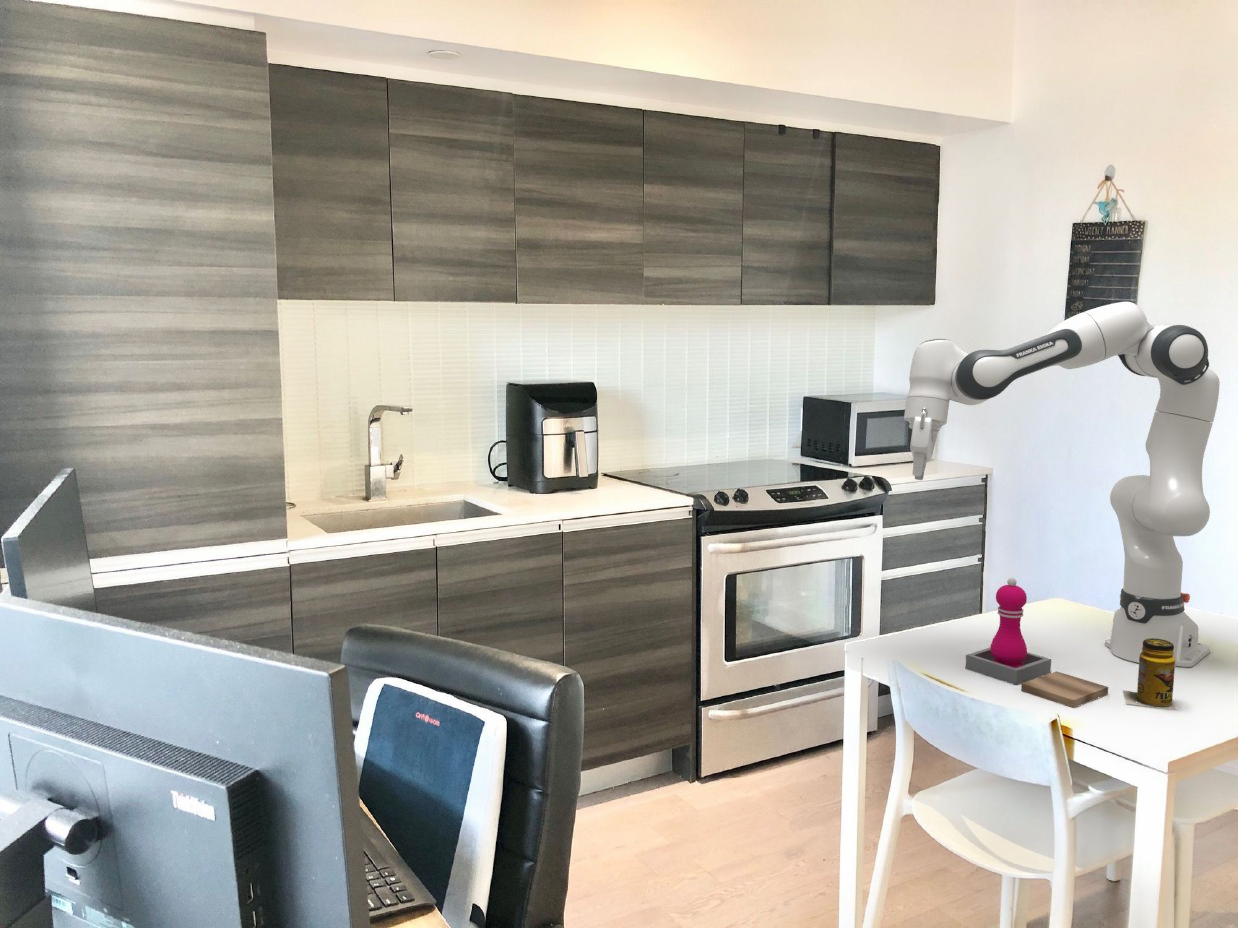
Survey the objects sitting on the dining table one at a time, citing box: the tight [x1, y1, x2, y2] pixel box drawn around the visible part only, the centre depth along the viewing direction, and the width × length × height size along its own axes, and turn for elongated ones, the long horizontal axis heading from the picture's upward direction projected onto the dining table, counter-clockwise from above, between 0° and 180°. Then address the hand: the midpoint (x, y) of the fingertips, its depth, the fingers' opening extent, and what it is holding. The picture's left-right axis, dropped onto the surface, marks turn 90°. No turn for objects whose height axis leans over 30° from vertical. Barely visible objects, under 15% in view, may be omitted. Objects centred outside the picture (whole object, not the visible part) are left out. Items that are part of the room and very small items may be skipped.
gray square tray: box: [965, 646, 1052, 686], centre depth 209 cm, size 12×12×3 cm
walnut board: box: [1020, 671, 1109, 709], centre depth 197 cm, size 12×11×2 cm
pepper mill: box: [989, 577, 1028, 668], centre depth 208 cm, size 7×7×20 cm
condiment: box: [1122, 638, 1177, 711], centre depth 191 cm, size 7×8×12 cm
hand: (917, 477), depth 212 cm, fingers open, 8 cm apart
